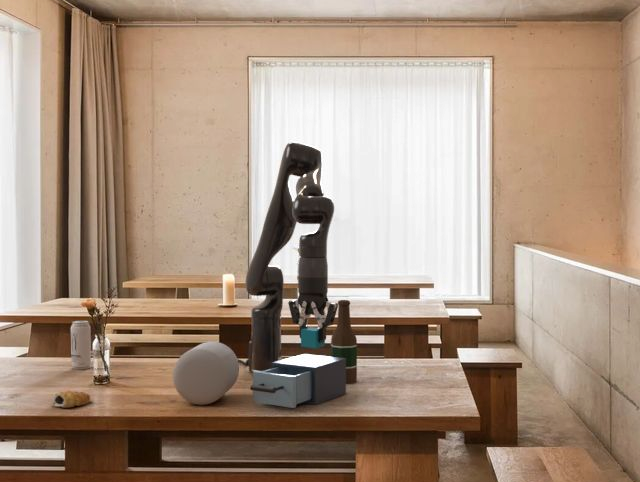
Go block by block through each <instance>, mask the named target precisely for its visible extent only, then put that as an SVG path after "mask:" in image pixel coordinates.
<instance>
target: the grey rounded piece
mask: <svg viewBox="0 0 640 482" xmlns="http://www.w3.org/2000/svg"><path fill="white" fill-rule="evenodd" d="M177 359H178V360H177V361H176V362H175V364H174V368H173V370H172V382H173V386H174V389H175V390H176V392H177V393H178V394H179V396H180V397H181V398H182V399H183V400H185V401H186V402H188V403H190V404H193V405H197V406H206V405H210V404H212V403H215V402H216V401H218V400H219V399H221V398H222V397H223V396H224V395H226V393H227V392H228V391H230V390H231V389H232V388H233V387H234V386H235V384H236V382H237V381H238V378H239V376H240V375H239V373H240V362H238V360H237V359H238V357H237V355H236V353H235V352H234V351H233V350H232V348H230V347H229V346H227V344H224V343H222V342H219V341H218V342H217V341H205V342H202V343H200V344H198V345H196V346H194V347H192V348H191V349H189V350H187V351H186V352H184V353H183V354H181V356H180V357H179V358H177ZM159 395H162V393H161V392H160V393H159ZM163 395H164V396H166V394H163ZM170 399H172V401H173V402H174V400H175V399H173V397H172V396H171V397H170Z"/></svg>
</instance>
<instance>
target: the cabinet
mask: <svg viewBox="0 0 640 482" xmlns="http://www.w3.org/2000/svg"><path fill="white" fill-rule="evenodd" d="M276 367H287V368H295V369H304V370H312V371H313V399H310V400H307V401H304V402H301V403H300V404H306V405H307V404H308V405H319V404H321V403H324V402H327V401H329V400H332V399H335V398H338V397H340V396H343V395H346V393H347V384H346V358H338V357H331V356H327V355H317V354H309V353H302V354H298V355H296V356H291V357H287V358H284V359H283V358H282V360H279V361H275V362H272V368H276Z"/></svg>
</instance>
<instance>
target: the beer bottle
mask: <svg viewBox="0 0 640 482" xmlns="http://www.w3.org/2000/svg"><path fill="white" fill-rule="evenodd" d="M337 304H338V308H337V311H338V312H337V324H336V328H335V329H334V331H333V332H332V335H331V338H330V339H331V340H330V357H338V358H346V385H348V384H353V383H356V382H357V380H358V379H357V377H358V340H357V336H356V334H355V331H354V329H352V324H351V312H350V305H351V301H350V300H348V299H340V300H338V301H337Z"/></svg>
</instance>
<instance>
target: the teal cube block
mask: <svg viewBox="0 0 640 482" xmlns="http://www.w3.org/2000/svg"><path fill="white" fill-rule="evenodd" d="M318 328H319V327H314V326H313V327H312V326H308V328H305V329H301V338H300V347H301V348H309V349H319V348H322V347H325V346H326V340H325V341H324V342H322V343H319V342H318Z"/></svg>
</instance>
